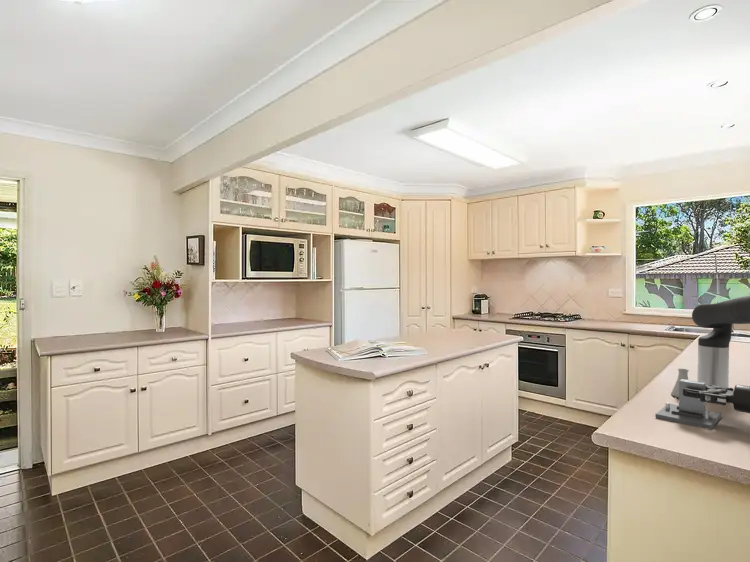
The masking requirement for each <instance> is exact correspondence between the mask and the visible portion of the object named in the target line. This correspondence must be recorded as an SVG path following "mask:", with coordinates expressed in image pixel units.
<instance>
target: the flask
mask: <svg viewBox="0 0 750 562" xmlns="http://www.w3.org/2000/svg"><path fill="white" fill-rule="evenodd" d="M677 370H678V376H677V380H676V381H675V382H674V383H675V384H674V386H673V387H672V390H671V392H670V395H671V396H673V397H675V398H679V381H680V380H681V379H685V380H689V377H688V375H689V374H688V373H689V371H690V370H689V369H687V368H683V367H682V368H681V367H678V368H677Z"/></svg>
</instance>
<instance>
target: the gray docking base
mask: <svg viewBox="0 0 750 562" xmlns="http://www.w3.org/2000/svg"><path fill="white" fill-rule="evenodd" d="M664 404H665V406H664V407H663V408H661V409H660V410H658V411H657V412H656V413H655V417H656V419H659V418H661V419H660V420H664V419H665V420H664V421H668V420H669V422H673V421H674V422H673V423H678V422H679V424H684V425H688V426H693V427H696V428H697V427H698V428H701V427H702V429H706V428H707V429H706V430H712V429H713V428H714V427H715V426H716V424H717V423H718V421H720V419H721V418H722V413H721V412H717V411H713V410H706V409H705V416H704V417H703V418H701V416H699V415H694V414H689V413H684V412H679V404H678V405H677V404H674V403H670V402H665V403H664ZM714 425H715V426H714Z"/></svg>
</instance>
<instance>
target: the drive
mask: <svg viewBox="0 0 750 562" xmlns="http://www.w3.org/2000/svg"><path fill="white" fill-rule="evenodd" d="M685 388H686V389H692V390H698V391H706V383H705V382H699V381H697V380H691V379H688V380H685V379H681V380H680V381H679V397H678V405H679V412H684V413H689V414H694V415H699V416H701V418H703V417H704V416H705V410H706V402H701V401H700V400H699V399H698V398H693V397H687V396H684V395H683V389H685Z"/></svg>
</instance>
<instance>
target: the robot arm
mask: <svg viewBox="0 0 750 562" xmlns="http://www.w3.org/2000/svg"><path fill="white" fill-rule="evenodd" d="M691 318H692V321H693V322H694V323H695V325H696V326H698V327H700V328H704V329H712V331H711V332H709V333H708V334H705V335H702V336H700V337H699V338H698V340H697V344H698V345H697V379H696V381H699V382H705V383H706V391H698V390H692V389H686V388H685V389H683V395H684V396H687V397H693V398H698V399H699V400H700V401H701V402H705V403H710V404H715V405H722V406H727V403H728V404H730V403H731V404H733V410H734V411H736V412H739V413H740V412H741V413H746V414H750V386H749V385H743V384H742V385H741V384H735V385H734V388H733V387H730V386H729V385H730V380H729V379H730V378H729V374H730V370H729V369H730V365H729V364H730V343H731V340H732V328H733V325H734V324H735V325H748V324H749V325H750V294H748V295H744V296H739V297H735V298H731V299H727V300H724V301H720V302H716V303H715V302H714V303H701V304H698V305H697V306H695V308H694V309H693V310H692V313H691Z"/></svg>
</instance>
